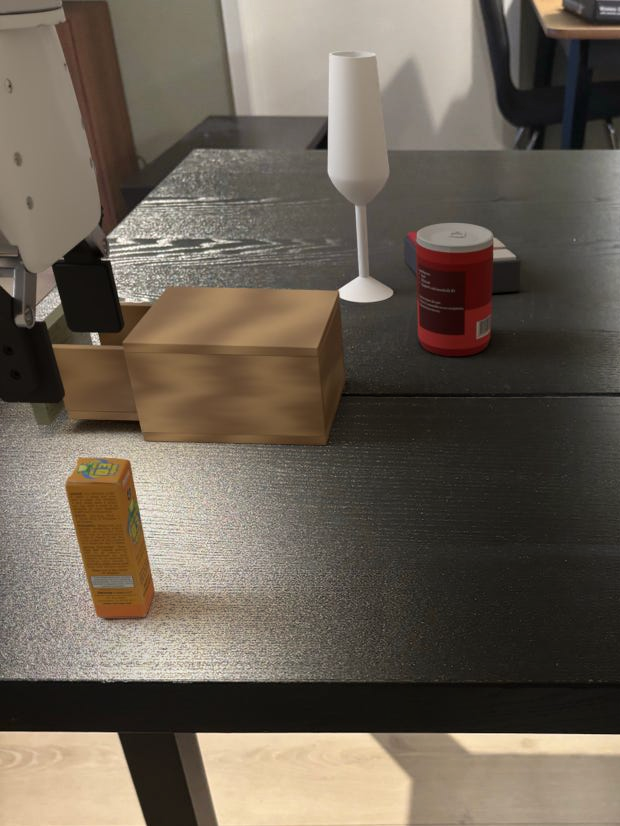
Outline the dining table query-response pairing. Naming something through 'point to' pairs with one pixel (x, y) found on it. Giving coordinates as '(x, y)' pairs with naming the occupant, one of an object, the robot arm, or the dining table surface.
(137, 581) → the supplement box
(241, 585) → the dining table surface
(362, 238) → the champagne flute
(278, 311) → the cabinet
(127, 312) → the drawer
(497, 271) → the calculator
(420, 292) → the canned food
